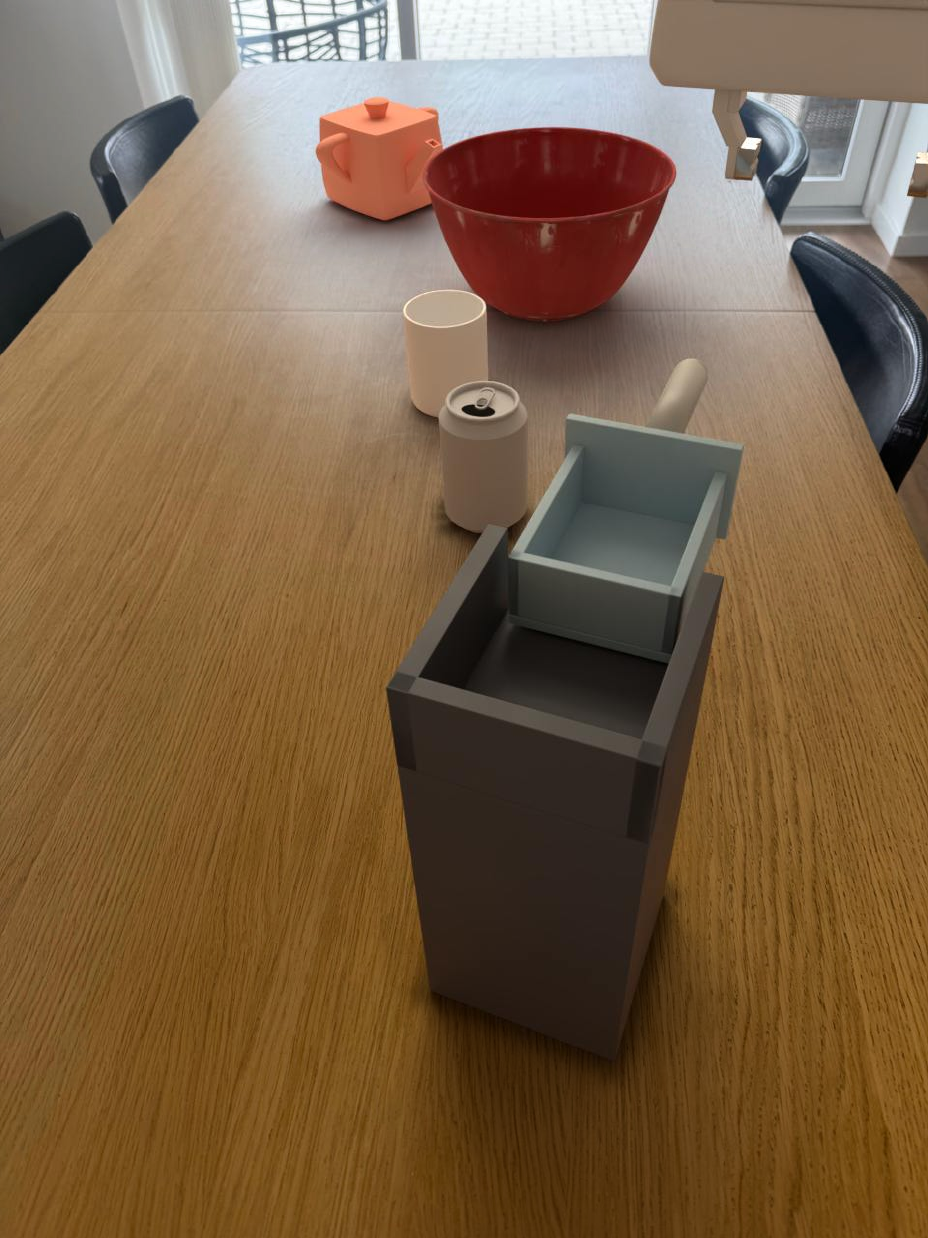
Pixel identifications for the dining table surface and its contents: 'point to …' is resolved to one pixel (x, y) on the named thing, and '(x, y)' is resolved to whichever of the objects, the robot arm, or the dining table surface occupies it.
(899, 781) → the dining table surface
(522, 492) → the can
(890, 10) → the robot arm
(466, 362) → the mug
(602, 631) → the tray
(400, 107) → the teapot
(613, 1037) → the box
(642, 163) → the mixing bowl
